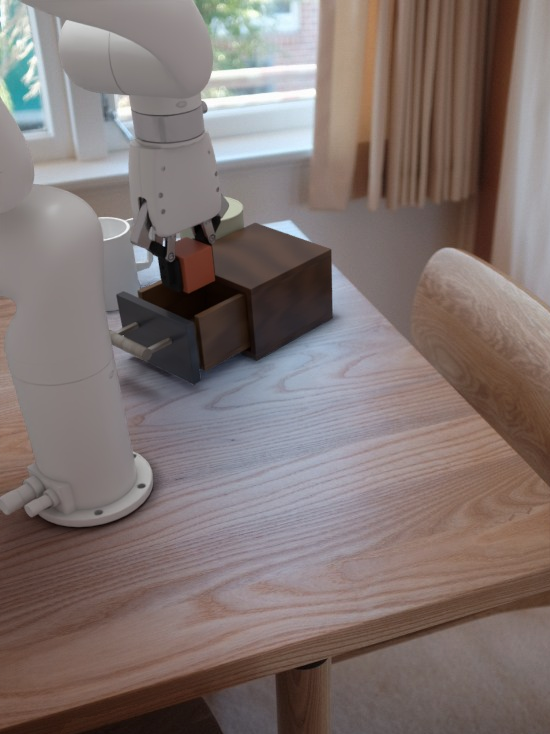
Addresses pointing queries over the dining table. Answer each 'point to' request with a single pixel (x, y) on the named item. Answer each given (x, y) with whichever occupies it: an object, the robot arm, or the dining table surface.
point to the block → (194, 263)
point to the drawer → (183, 327)
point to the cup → (120, 260)
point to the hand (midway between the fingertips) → (188, 279)
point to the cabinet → (276, 283)
